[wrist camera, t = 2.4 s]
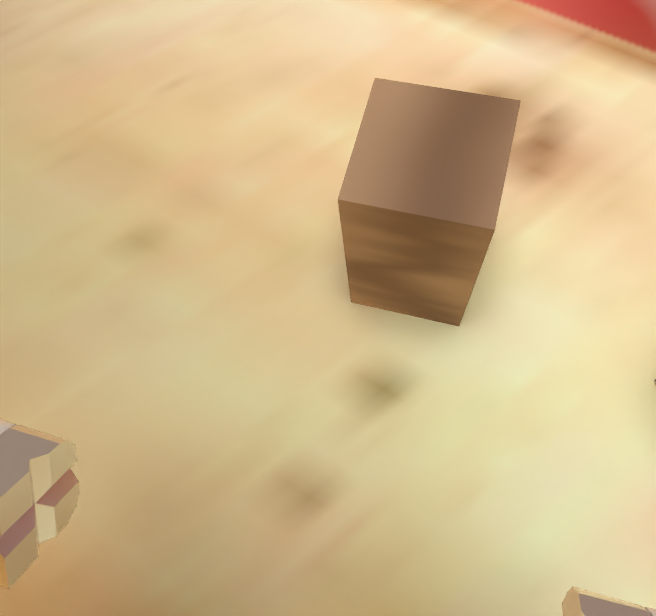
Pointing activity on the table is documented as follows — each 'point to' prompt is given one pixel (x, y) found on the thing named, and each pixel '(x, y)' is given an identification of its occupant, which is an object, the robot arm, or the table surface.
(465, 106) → the walnut block
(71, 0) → the table surface
